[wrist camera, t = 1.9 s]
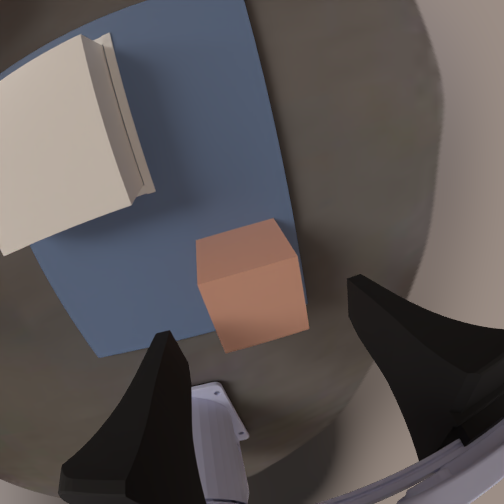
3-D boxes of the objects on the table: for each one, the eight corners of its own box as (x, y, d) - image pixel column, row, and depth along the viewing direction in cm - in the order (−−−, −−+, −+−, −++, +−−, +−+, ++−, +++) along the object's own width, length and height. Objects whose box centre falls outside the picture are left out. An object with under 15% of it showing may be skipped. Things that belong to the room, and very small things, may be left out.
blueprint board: (305, 298, 19) (308, 304, 18) (100, 352, 18) (98, 358, 18) (236, -17, 10) (238, -22, 10) (-19, 90, 10) (-25, 91, 9)
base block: (143, 184, 14) (131, 205, 11) (29, 229, 13) (3, 256, 11) (102, 45, 10) (80, 33, 8) (-12, 110, 10) (-47, 118, 7)
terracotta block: (286, 282, 17) (309, 328, 14) (218, 302, 17) (225, 353, 14) (273, 217, 15) (297, 256, 12) (195, 240, 15) (197, 285, 12)
